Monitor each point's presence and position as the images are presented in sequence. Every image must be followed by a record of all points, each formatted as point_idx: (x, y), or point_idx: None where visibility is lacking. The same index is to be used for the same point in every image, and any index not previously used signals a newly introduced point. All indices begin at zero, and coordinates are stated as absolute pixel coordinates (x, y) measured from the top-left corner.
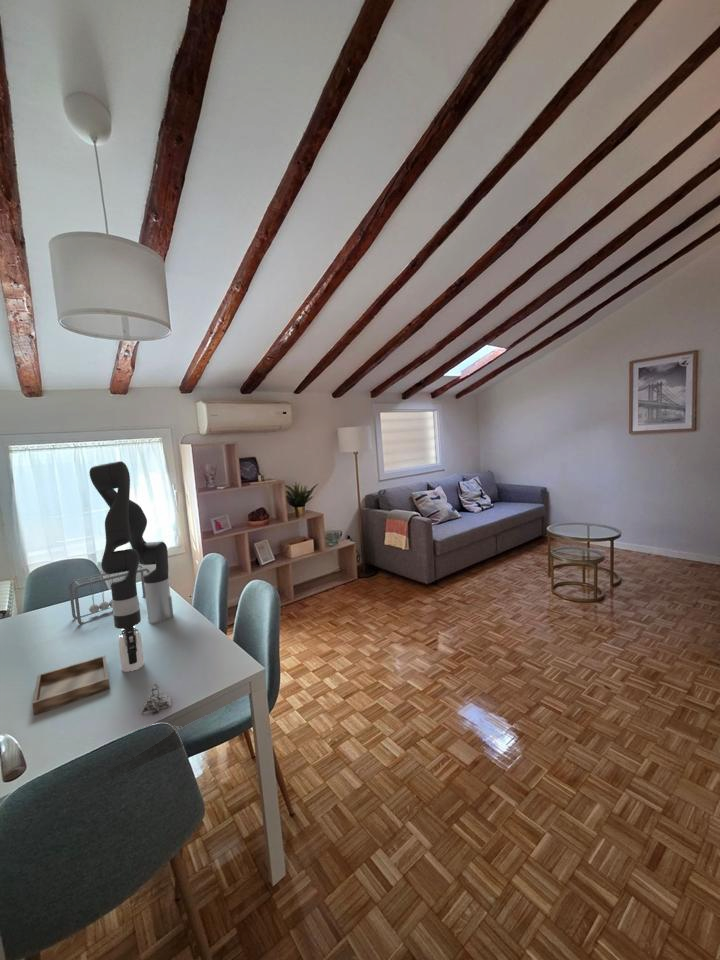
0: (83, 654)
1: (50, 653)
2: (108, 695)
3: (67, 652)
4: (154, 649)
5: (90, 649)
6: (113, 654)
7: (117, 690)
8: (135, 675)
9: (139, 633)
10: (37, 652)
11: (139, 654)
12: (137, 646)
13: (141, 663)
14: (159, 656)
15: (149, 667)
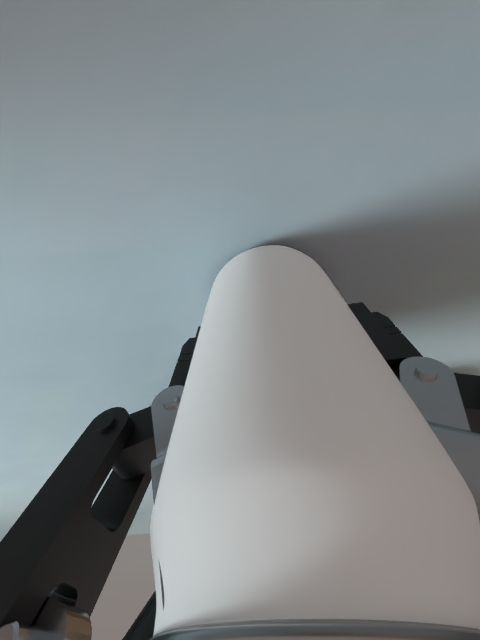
0: (45, 456)
1: (24, 505)
2: (469, 369)
3: (22, 483)
4: (37, 180)
5: (5, 446)
6: (66, 385)
7: (460, 344)
8: (372, 280)
9: (342, 518)
10: (14, 520)
11: (345, 304)
12: (393, 372)
13: (311, 262)
14: (179, 127)
15: (327, 202)
